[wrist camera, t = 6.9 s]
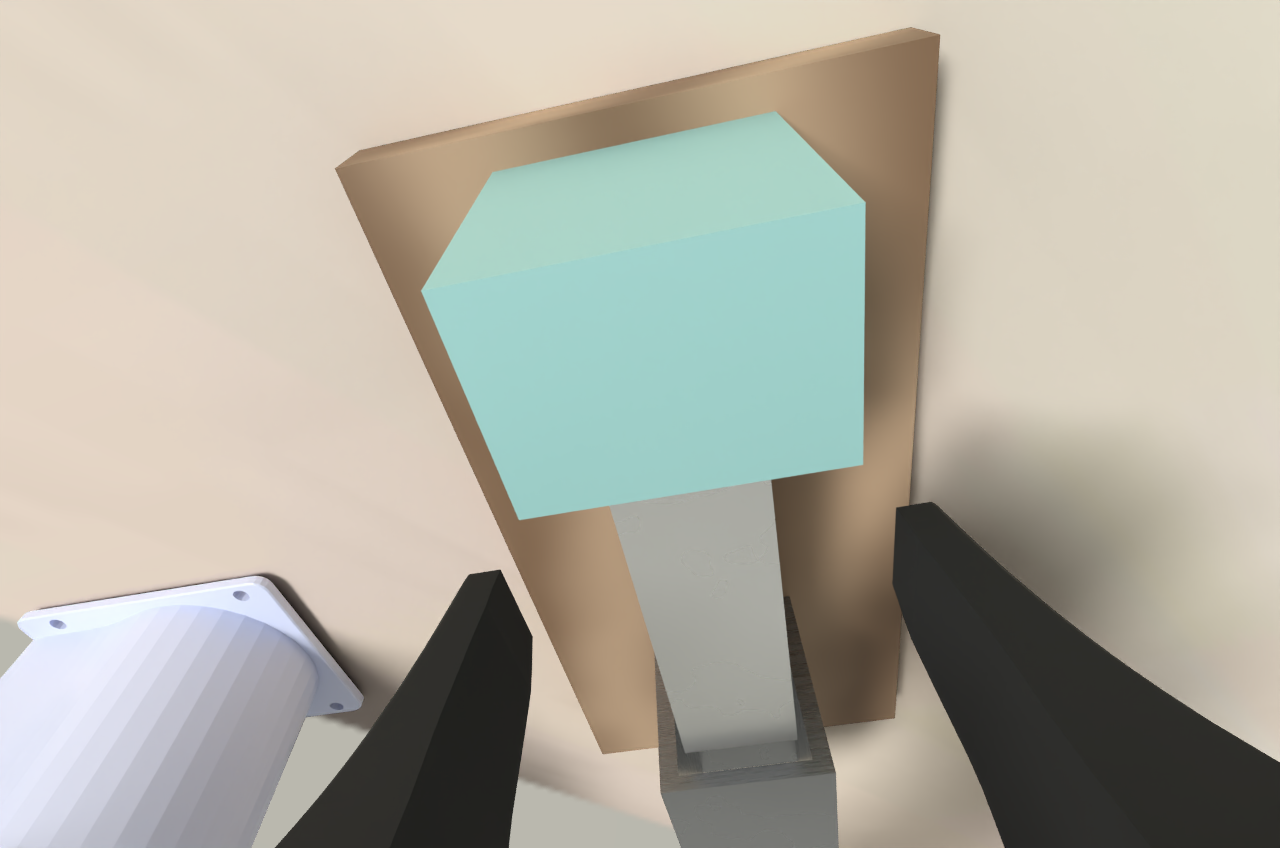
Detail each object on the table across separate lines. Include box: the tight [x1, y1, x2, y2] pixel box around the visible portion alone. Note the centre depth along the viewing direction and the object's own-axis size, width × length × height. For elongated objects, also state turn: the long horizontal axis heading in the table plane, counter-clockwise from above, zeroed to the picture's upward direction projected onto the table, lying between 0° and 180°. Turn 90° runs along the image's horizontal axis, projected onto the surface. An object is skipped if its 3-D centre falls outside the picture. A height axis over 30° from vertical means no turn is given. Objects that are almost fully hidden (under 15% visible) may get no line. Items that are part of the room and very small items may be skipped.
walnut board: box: [335, 27, 940, 754], centre depth 20 cm, size 12×24×2 cm, turn 11°
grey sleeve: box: [654, 596, 839, 848], centre depth 21 cm, size 5×8×6 cm, turn 11°
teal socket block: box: [421, 111, 866, 520], centre depth 12 cm, size 6×4×6 cm
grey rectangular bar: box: [609, 480, 798, 753], centre depth 15 cm, size 3×13×3 cm, turn 11°
